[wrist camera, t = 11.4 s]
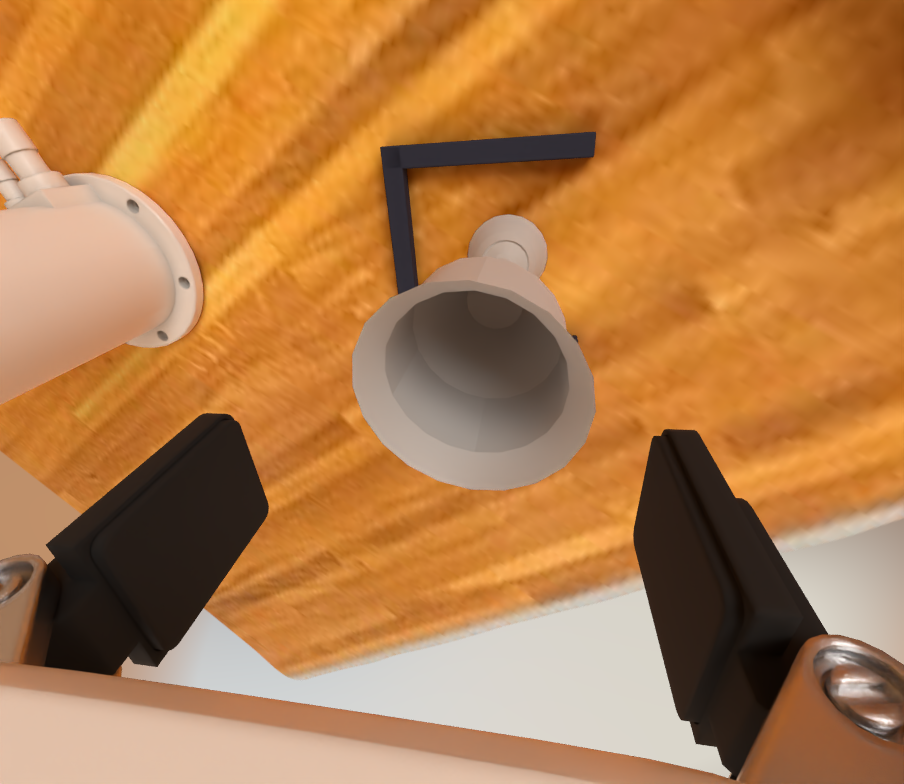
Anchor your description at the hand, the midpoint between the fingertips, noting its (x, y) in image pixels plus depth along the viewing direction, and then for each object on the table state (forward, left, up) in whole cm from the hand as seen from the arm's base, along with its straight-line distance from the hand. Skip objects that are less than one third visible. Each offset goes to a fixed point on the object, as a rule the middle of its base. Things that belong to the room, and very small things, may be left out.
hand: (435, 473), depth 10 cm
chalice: (0, 0, -22) cm, 22 cm away
